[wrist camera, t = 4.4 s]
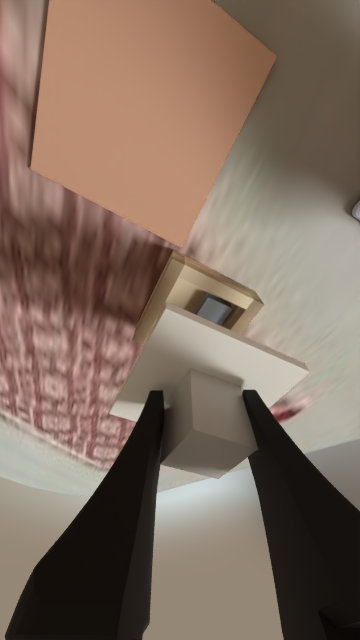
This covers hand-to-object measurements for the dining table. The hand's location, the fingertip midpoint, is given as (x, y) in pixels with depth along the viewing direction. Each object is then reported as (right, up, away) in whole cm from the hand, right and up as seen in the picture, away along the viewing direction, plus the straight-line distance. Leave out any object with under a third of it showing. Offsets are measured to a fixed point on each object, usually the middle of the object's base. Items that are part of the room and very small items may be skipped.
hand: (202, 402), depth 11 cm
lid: (0, +1, +1) cm, 1 cm away
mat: (-3, +16, +2) cm, 17 cm away
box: (0, +5, +9) cm, 10 cm away
